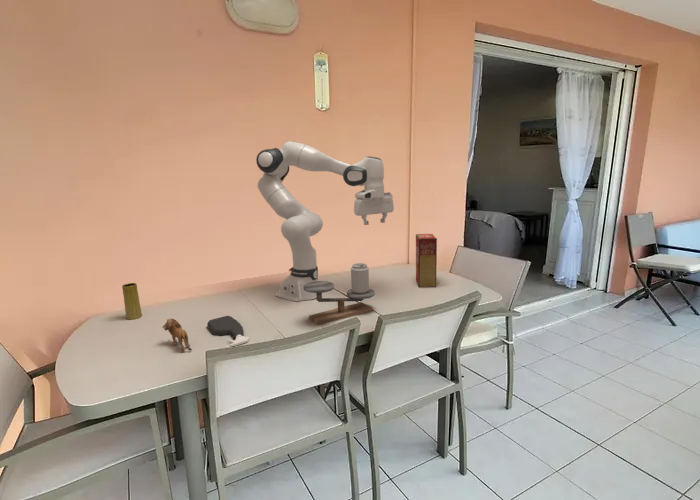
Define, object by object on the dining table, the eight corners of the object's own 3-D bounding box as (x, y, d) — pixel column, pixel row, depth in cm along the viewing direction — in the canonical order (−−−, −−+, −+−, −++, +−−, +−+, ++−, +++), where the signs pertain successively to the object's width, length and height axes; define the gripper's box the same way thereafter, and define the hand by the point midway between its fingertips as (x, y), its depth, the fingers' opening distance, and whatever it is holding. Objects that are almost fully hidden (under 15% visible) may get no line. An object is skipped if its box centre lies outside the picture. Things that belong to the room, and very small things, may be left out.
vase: (124, 316, 165) (119, 284, 162) (140, 313, 169) (135, 281, 166) (127, 320, 160) (122, 288, 157) (143, 317, 164) (139, 284, 161)
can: (367, 295, 161) (366, 267, 158) (349, 294, 162) (349, 266, 160) (370, 289, 168) (369, 262, 165) (353, 288, 170) (352, 262, 167)
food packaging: (414, 279, 207) (415, 233, 201) (432, 279, 206) (433, 233, 201) (418, 287, 194) (418, 238, 188) (437, 287, 193) (438, 238, 188)
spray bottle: (232, 320, 159) (256, 342, 140) (205, 327, 152) (227, 351, 133) (231, 314, 158) (256, 334, 139) (204, 320, 152) (226, 343, 132)
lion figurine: (163, 343, 139) (159, 319, 137) (177, 338, 143) (174, 315, 141) (184, 354, 130) (181, 329, 128) (199, 348, 134) (196, 324, 132)
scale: (300, 319, 158) (298, 284, 154) (364, 302, 174) (363, 271, 171) (314, 328, 148) (312, 292, 145) (380, 310, 165) (380, 277, 162)
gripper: (387, 191, 183) (388, 220, 186) (351, 194, 172) (352, 225, 175) (396, 192, 178) (396, 222, 181) (359, 195, 167) (360, 226, 170)
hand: (374, 223), depth 178 cm, fingers open, 8 cm apart
